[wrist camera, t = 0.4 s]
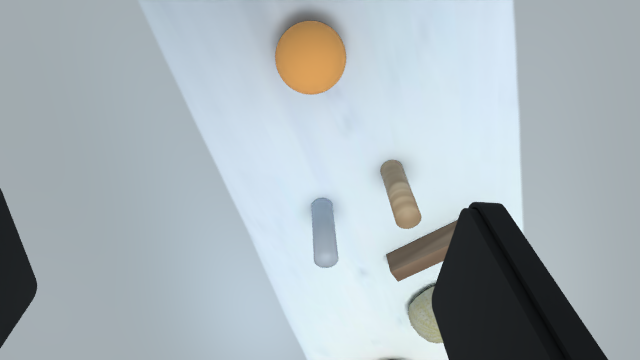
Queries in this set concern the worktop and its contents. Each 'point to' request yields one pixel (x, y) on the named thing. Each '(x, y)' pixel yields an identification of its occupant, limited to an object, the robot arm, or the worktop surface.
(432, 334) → the sea urchin shell
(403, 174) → the maple pin
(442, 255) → the back wall
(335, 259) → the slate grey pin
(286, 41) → the ball
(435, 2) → the worktop surface
